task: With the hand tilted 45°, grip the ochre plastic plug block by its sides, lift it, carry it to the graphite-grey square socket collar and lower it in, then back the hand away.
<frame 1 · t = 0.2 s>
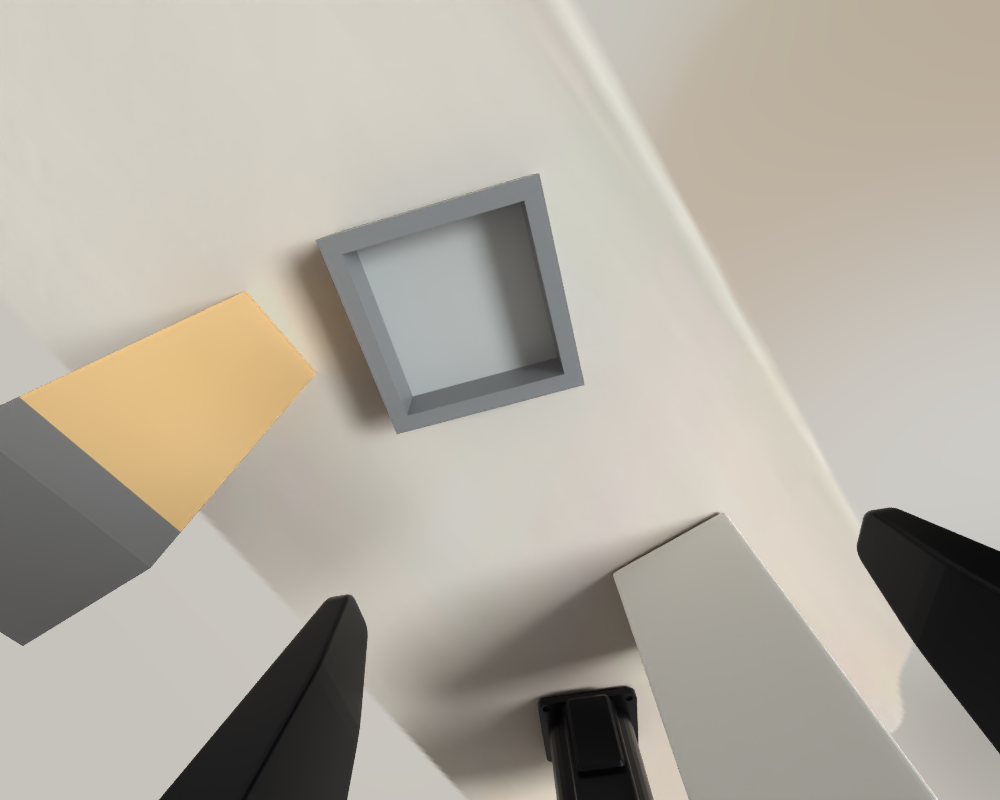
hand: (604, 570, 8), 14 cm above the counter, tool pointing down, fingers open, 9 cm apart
plug: (244, 359, 21), on the counter
socket collar: (462, 303, 20), on the counter
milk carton: (692, 575, 28), on the counter
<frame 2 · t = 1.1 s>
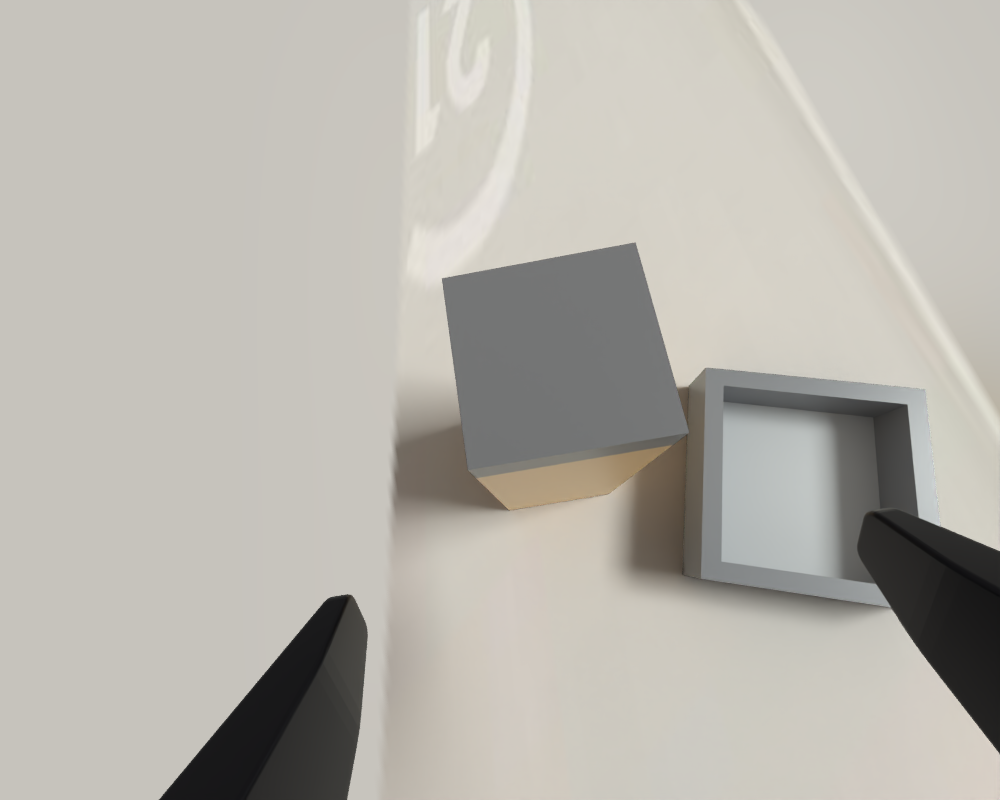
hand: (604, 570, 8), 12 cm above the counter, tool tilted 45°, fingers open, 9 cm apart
plug: (549, 453, 21), on the counter
socket collar: (785, 487, 20), on the counter
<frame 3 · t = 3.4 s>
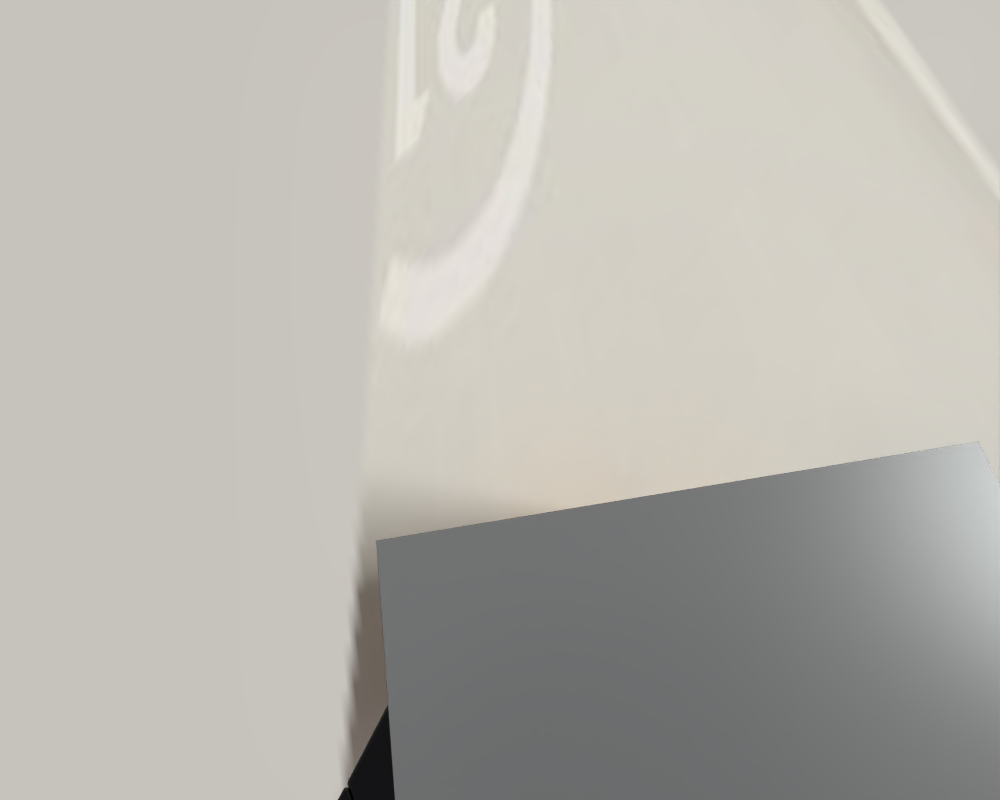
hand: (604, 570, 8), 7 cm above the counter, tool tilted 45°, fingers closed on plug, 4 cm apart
plug: (587, 608, 14), on the counter, touching gripper
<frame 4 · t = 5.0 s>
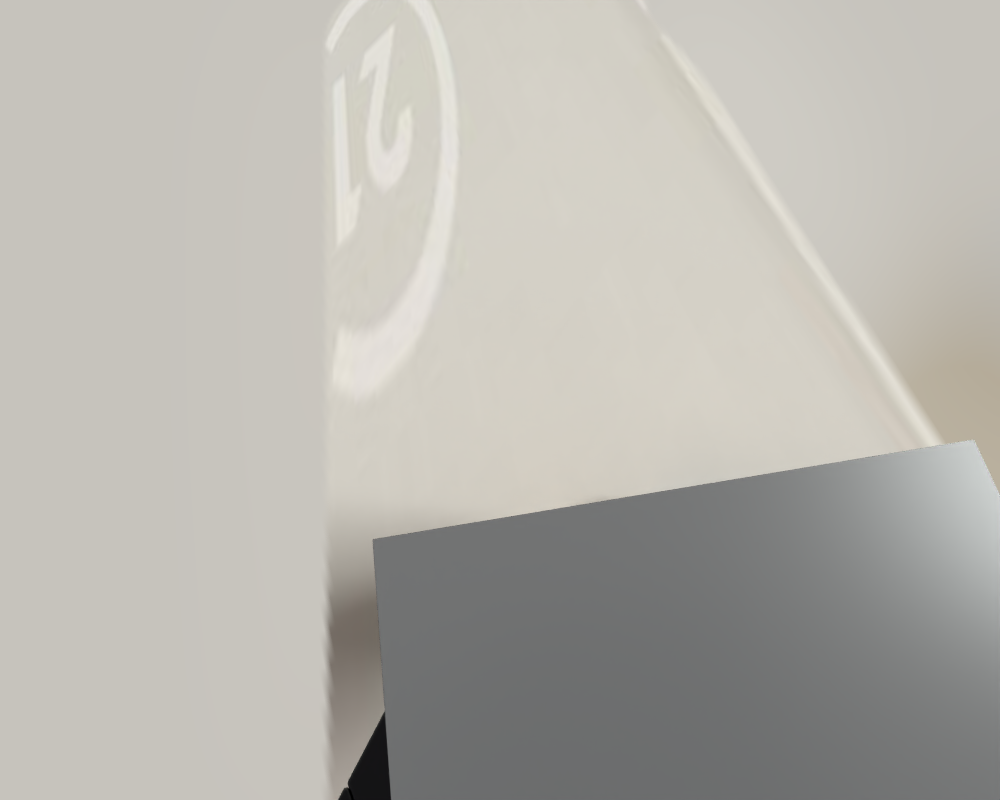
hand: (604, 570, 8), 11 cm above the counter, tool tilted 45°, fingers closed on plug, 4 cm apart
plug: (586, 607, 14), point 5 cm above the counter, touching gripper
when the fingers open (8 cm above the counter, at t = 6.7 s): plug drops 1 cm, resting on socket collar.
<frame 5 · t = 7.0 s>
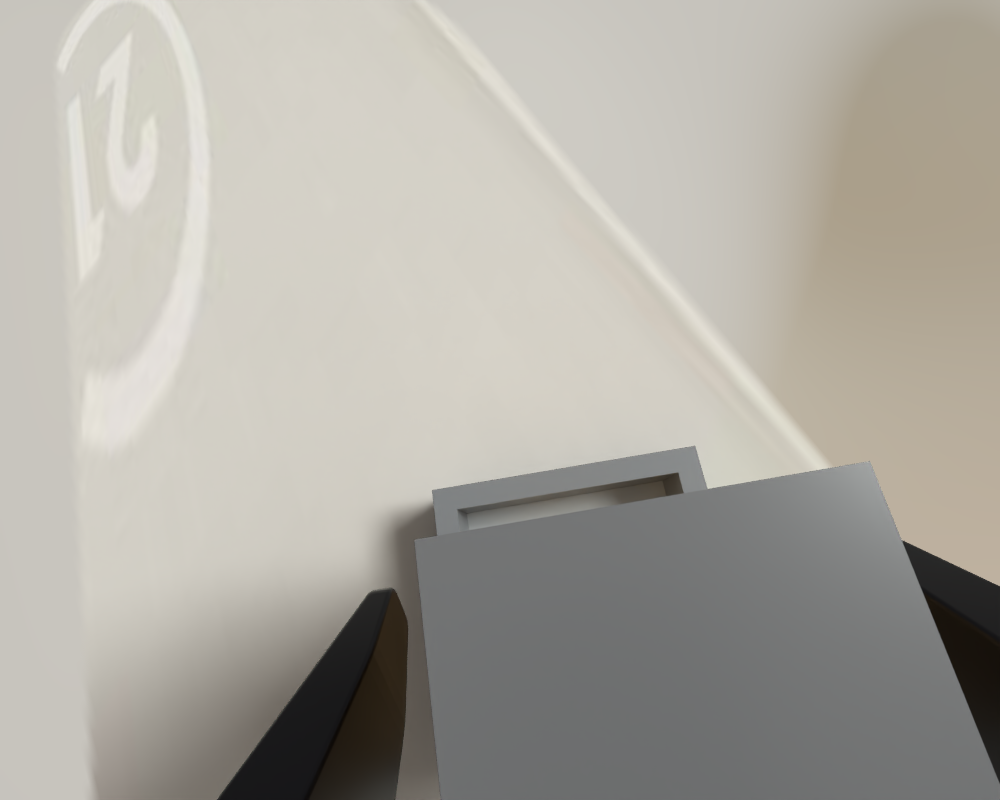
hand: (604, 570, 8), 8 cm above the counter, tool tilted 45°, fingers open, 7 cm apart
plug: (584, 601, 15), resting on socket collar
socket collar: (583, 601, 16), on the counter
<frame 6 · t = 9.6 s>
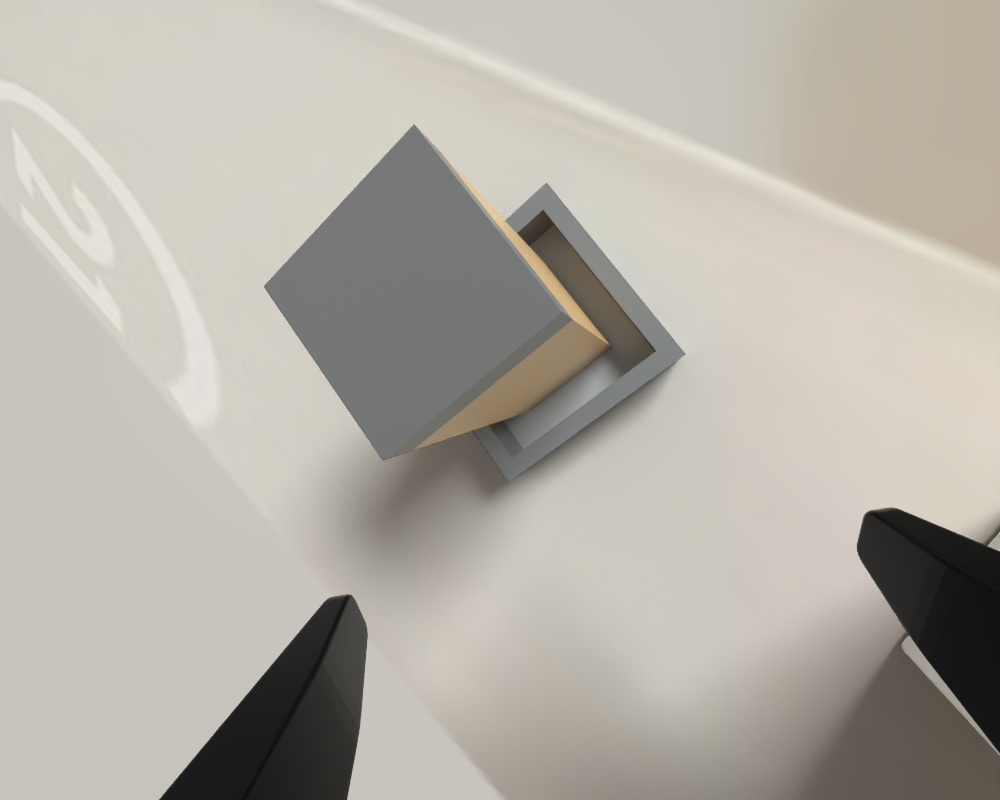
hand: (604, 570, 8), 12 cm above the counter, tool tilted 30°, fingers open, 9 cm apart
plug: (538, 339, 20), resting on socket collar
socket collar: (540, 340, 21), on the counter
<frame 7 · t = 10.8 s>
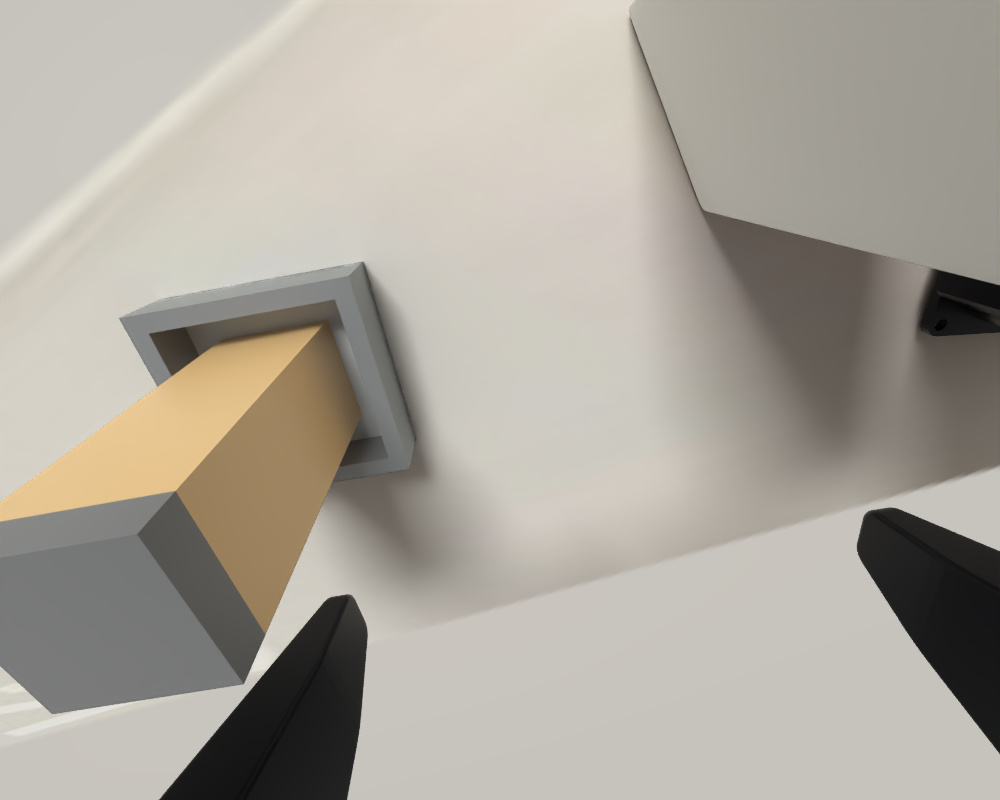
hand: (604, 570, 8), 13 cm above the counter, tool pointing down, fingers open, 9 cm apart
plug: (294, 378, 20), resting on socket collar
socket collar: (298, 375, 20), on the counter
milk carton: (761, 56, 16), on the counter
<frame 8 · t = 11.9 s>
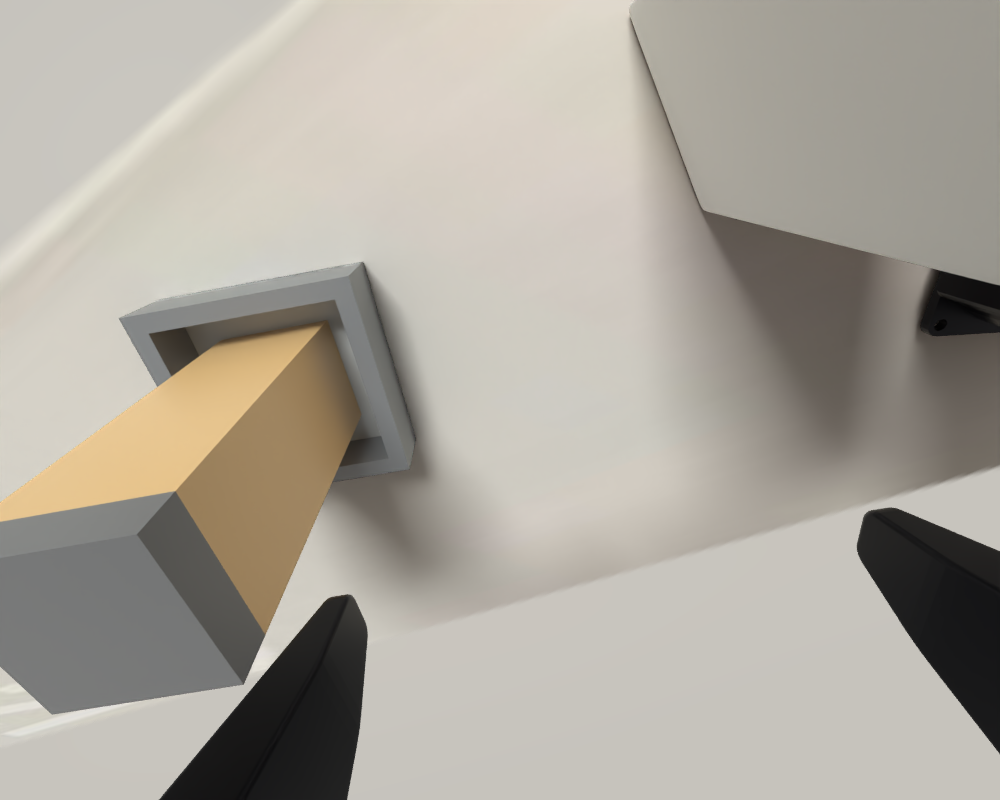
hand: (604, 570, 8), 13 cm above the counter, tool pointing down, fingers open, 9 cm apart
plug: (294, 379, 20), resting on socket collar
socket collar: (298, 375, 20), on the counter
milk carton: (761, 56, 16), on the counter
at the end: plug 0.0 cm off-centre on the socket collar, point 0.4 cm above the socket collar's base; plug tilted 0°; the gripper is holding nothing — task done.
